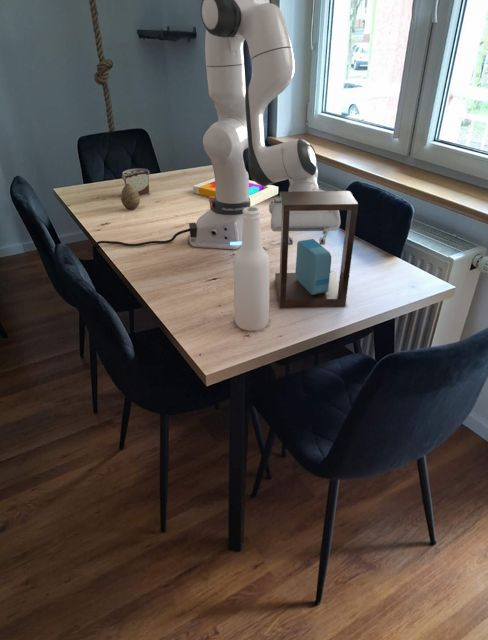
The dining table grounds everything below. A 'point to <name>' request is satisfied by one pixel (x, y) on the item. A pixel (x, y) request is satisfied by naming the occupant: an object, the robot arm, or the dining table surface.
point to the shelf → (294, 291)
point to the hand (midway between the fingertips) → (306, 244)
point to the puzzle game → (255, 190)
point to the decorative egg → (130, 197)
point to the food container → (137, 180)
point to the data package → (313, 266)
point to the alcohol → (251, 275)
